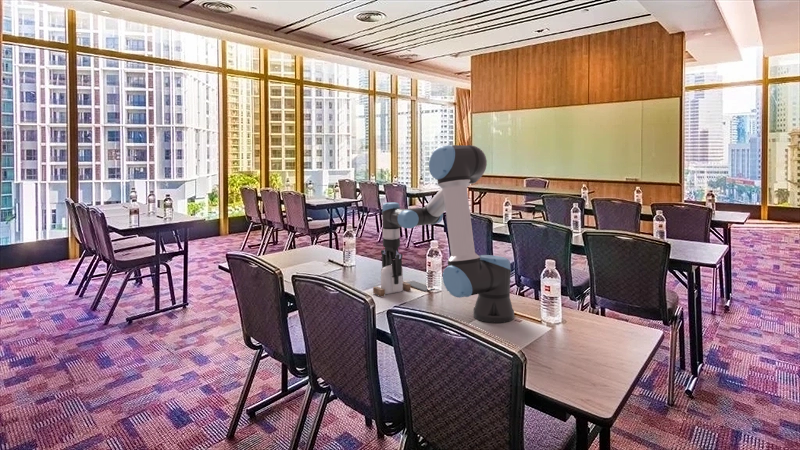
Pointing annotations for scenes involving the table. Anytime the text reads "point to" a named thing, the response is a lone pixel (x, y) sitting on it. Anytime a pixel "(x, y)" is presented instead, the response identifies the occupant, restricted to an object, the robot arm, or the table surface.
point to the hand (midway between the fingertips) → (392, 289)
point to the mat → (418, 285)
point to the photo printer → (390, 280)
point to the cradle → (381, 291)
